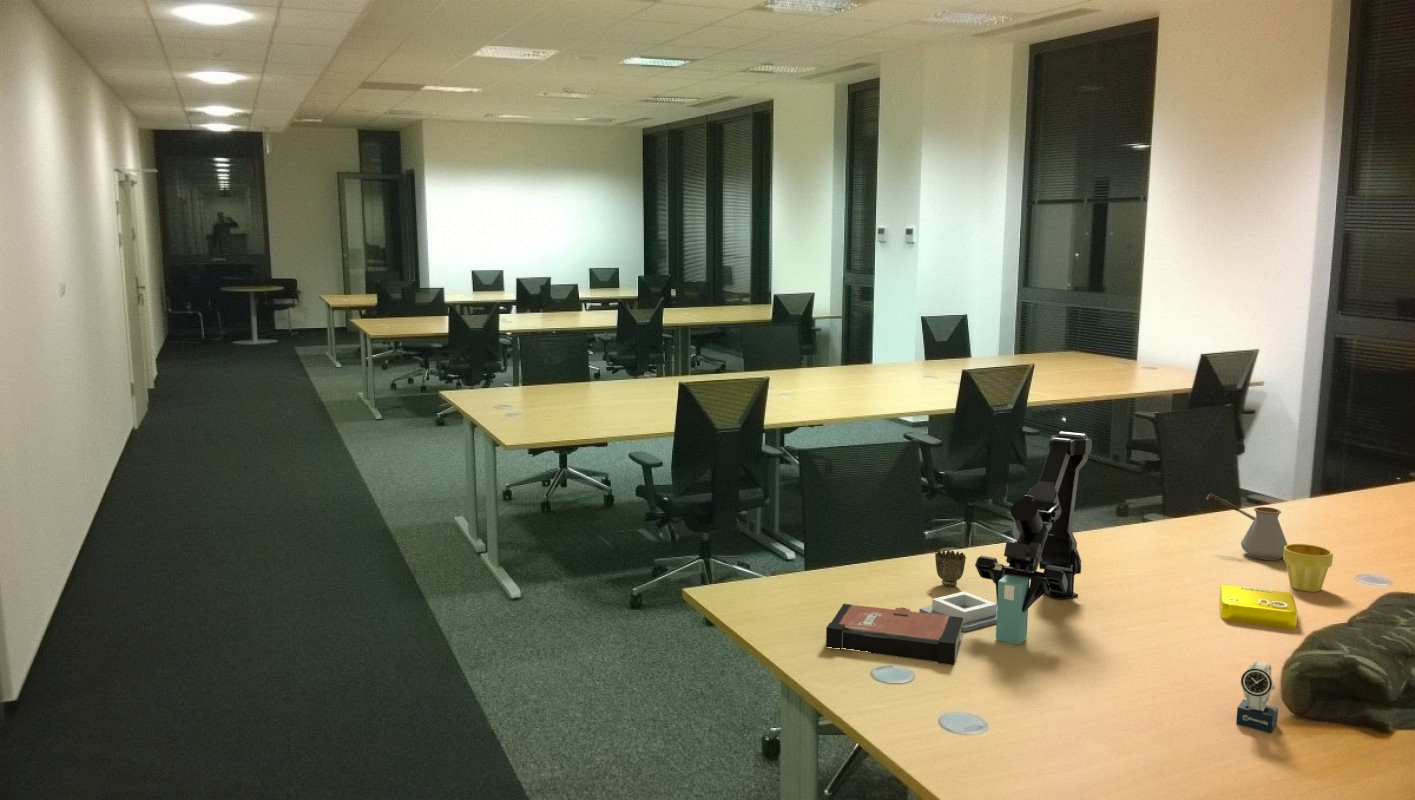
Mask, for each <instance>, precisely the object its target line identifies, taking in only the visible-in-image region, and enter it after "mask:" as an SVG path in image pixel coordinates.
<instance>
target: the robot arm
mask: <svg viewBox="0 0 1415 800" xmlns="http://www.w3.org/2000/svg"><path fill="white" fill-rule="evenodd" d="M1048 446H1049V447H1048V449H1049V450H1048V454H1047V456H1046V460H1045V462H1044V465H1043V467H1042V472H1041V474H1040V477H1039V479H1038V482H1037V484H1036V485H1034V486H1033V487H1031V488H1030V489H1029V490H1028V492H1027V494H1025V495H1023V498H1022V499H1019V500H1017V501H1015V502H1014V503H1013V504H1012V505H1011V506H1010V509H1009V510H1010V515H1011V518H1012V520H1013V524H1014V527H1015V529H1016V531H1018V536H1017V539H1016V540H1015V541H1005V547H1004V553H1003V557H1006V558H1005V559H1006V560H1005V561H1006V563H1007V564H1009V565H1008V566H1007V565H1004V564H1002V563H999V560H998V559H997V558H996V557H991V556H985V555H980V556H978V557H977V558H976V561H975V563H974V564H975V565H974V566H975V568H976V571H977V572H978V574H979V577H980V578H982V579H987V580H991V581H992V583H994V584H995V592H996V596H995V597H996V602H997V601H998V581H999V580H1000V579H1002V578H1003V577H1004V576H1006V575H1010V576H1015V577H1020V578H1026V579H1030V580H1029V590H1028V592H1027V595H1026V598H1025V600H1024V603H1023V607H1022V611H1023V612H1025V611H1026V610H1027V609H1028V610H1029V608H1030V607H1031V606H1032V605H1033V604H1034V603H1035V602H1036V601H1037V600H1038V599H1040V598H1041V597H1042V596H1043V595H1046V596H1048V597H1049V598H1052V599H1055V600H1058V601H1059V600H1066V599H1070V598H1071V599H1072V598H1076V597H1078V596H1079V594H1078V593H1076V592H1075V591H1074V590H1075V589H1074V587H1075V576H1076V575H1077V574H1078V575H1080V574H1081V573H1082V559H1081V556H1080V554H1079V551H1078V550H1079V549H1077V548H1078V541H1077V540H1076V538H1075V536H1074V533H1073V531H1072V529H1073V521H1074V514H1075V505H1076V498H1077V497H1076V496H1077V490H1078V483H1079V475H1080V471H1081V469H1082V468H1083V467H1084V466H1085V464H1086V463H1087V462H1088V459H1089V455H1090V453H1091V452H1092V448H1093V441H1092V438H1089V437H1088V434H1086V433H1080V432H1070V431H1059V432H1058V434H1057V435H1051V436H1050V441H1049V445H1048ZM1046 523H1047V524H1051V528H1050V529H1049V530H1048V527H1047V526H1046ZM1038 568H1039V569H1040V570H1043V572H1041V571H1038Z"/></svg>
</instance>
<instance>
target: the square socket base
mask: <svg viewBox="0 0 1415 800" xmlns="http://www.w3.org/2000/svg"><path fill="white" fill-rule="evenodd" d="M918 612H919V613H928V614H937V615H945V616H954V617H963V618H964V621H963V624H962V627H961V632H963V633H965V632H970V631H973V630H977V629H981V628H985V627H988V626H989V627H990V626H993V625H997V602H996V603H995V602H993V601H990V600H988V599H985V598H983V597H980V596H978V595H975V594H972V593H970V592H967V591H960V592H956V593H952V594H949V595H948V594H947V595H944V596H941V597H936V598H932V603H931V605H928V606H923V607H920V608H919V611H918Z"/></svg>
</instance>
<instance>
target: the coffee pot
mask: <svg viewBox="0 0 1415 800" xmlns="http://www.w3.org/2000/svg"><path fill="white" fill-rule="evenodd" d="M1210 497H1211V498H1213V499H1215V501H1218V502H1219V503H1221V504H1222V505H1224V506H1226V507H1228V508H1230V509H1232V510H1234V511H1236V512H1238V513H1240V514H1241V515H1243V516H1245V517H1246V518H1249V519H1250V520H1252V523H1251V524H1250V526H1249V528H1248V529H1247V531H1246V533H1245V534H1244V536H1243V538H1242V540H1241V542H1240V545H1241V548H1242V550H1243V551H1244V552H1246V553H1247V555H1248V556H1249V557H1251V558H1254V559H1257V558H1258V559H1257V560H1263V559H1264V561H1278V560H1281V557H1283V556H1284V547H1285V546H1286V545H1289V544H1288V542H1287V539H1286V537H1285V534H1284V532H1283V529H1282V526H1281V524H1280V522H1279V519H1278V518H1279V515H1281V513H1282V511H1281V510H1280V509H1277V508H1275V507H1274V508H1273V507H1268V506H1267V507H1266V506H1259V507H1258V506H1257V507H1254V509H1253V511H1255V516H1254V515H1251V514H1250V513H1248V512H1246V511H1244V510H1242V509H1240V508H1239V507H1237V506H1236V505H1234V504H1233V503H1231V502H1229V501H1228V500H1226V499H1223V498H1221V497H1219V496H1218V495H1217V496H1216V495H1215V494H1214V493H1211V492H1209V494H1208V495H1207V496H1206V499H1205V500H1209V498H1210ZM1277 559H1278V560H1277Z"/></svg>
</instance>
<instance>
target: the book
mask: <svg viewBox="0 0 1415 800" xmlns="http://www.w3.org/2000/svg"><path fill="white" fill-rule="evenodd" d="M833 617H834V618H833V619H832V620H831V621H830V622H829V623H828V625H827V626H826V628H825V629H826V633H825V634H826V635H825V639H826V640H825V648H826V647H832V648H840V649H841V648H846V649H854V650H860V651H868V652H871V653H870V654H874V653H876V655H881V654H883V656H890V657H896V656H897V657H899V658H906V659H912V660H918V661H920V660H921V661H926V662H927V661H928V662H934V661H935V662H936V663H937V664H942V665H949V666H955V664H956V661H957V657H958V654H959V650H960V646H961V644H962V641H963V637H964V634H962V631H961V627H962V624H963V621H964V618H963V617H954V616H945V615H937V614H928V613H919V611H911V608H907V607H895V608H894V609H892V608H883V607H875V606H865V605H857V604H848V603H842V606H841V607H840V608H839V610H838V612H837V613H836V615H835V616H833Z"/></svg>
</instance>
